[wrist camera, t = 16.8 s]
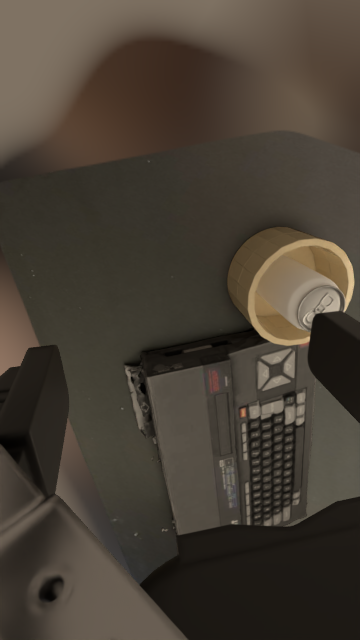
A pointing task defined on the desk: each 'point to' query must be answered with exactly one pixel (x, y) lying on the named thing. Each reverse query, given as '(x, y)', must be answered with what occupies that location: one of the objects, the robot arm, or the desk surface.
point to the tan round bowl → (256, 261)
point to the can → (299, 292)
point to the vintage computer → (229, 428)
